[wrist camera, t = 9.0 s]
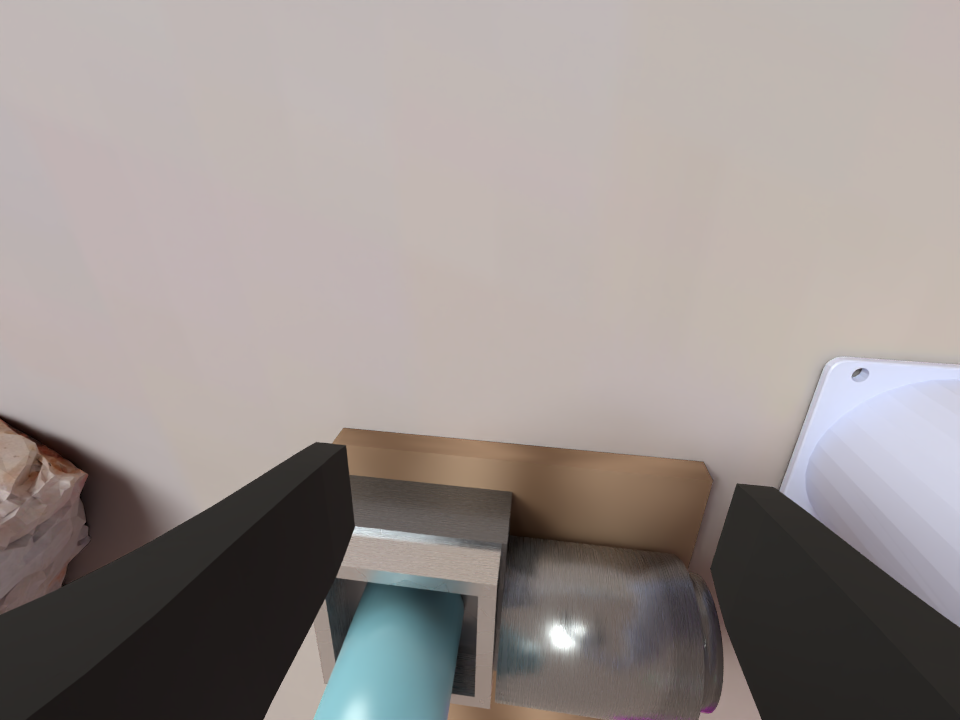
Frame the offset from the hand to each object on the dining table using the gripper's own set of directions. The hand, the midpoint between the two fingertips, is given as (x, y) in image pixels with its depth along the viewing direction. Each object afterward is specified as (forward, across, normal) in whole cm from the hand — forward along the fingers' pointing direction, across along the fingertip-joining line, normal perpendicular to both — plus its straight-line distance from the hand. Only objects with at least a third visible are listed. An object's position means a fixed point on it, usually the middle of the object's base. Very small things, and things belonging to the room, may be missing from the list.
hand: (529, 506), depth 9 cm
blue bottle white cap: (+5, +4, +10) cm, 12 cm away
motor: (+8, 0, +10) cm, 13 cm away
